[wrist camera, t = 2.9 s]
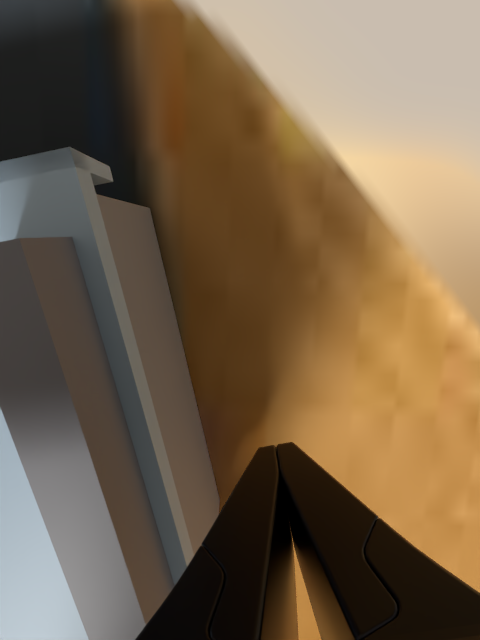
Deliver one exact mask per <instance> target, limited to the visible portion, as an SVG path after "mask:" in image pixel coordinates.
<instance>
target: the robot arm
mask: <svg viewBox="0 0 480 640" xmlns="http://www.w3.org/2000/svg"><path fill="white" fill-rule="evenodd" d="M276 449H277V450H276ZM289 522H290V523H289ZM290 528H291V529H290ZM291 533H292V534H291ZM292 538H293V541H292ZM293 543H294V547H295V551H296V555H297V559H298V562H299V565H300V569H301V572H302V575H303V579H304V582H305V585H306V589H307V592H308V595H309V599H310V602H311V606H312V609H313V612H314V616H315V619H316V622H317V626H318V629H319V632H320V636H321V639H322V640H480V593H479V592H478V591H476V590H475V589H473V588H472V587H470V586H469V585H468V584H466V583H465V582H463V581H462V580H460V579H459V578H457V577H456V576H455V575H453V574H452V573H450V572H449V571H447V570H446V569H445V568H443V567H442V566H440V565H439V564H438V563H436V562H435V561H433V560H432V559H431V558H429V557H428V556H427V555H425V554H424V553H423V552H421V551H420V550H418V549H417V548H416V547H414V546H413V545H412V544H411V543H410V542H408V541H407V540H406V539H405V538H403V537H402V536H401V535H400V534H398V533H397V532H396V531H395V530H394V529H392V528H391V527H390V526H389V525H388V524H387V523H386V522H384V521H383V520H382V519H381V518H379V517H378V516H377V515H376V514H375V513H374V512H373V511H371V510H370V509H369V508H368V507H367V506H366V505H365V504H363V503H362V502H361V501H360V500H359V499H358V498H357V497H355V496H354V495H353V494H352V493H351V492H350V491H348V490H347V489H346V488H345V487H344V486H343V485H342V484H340V483H339V482H338V481H337V480H336V479H335V478H333V477H332V476H331V475H330V474H329V473H328V472H327V471H325V470H324V469H323V468H322V467H321V466H320V465H318V464H317V463H316V462H315V461H314V460H313V459H312V458H310V457H309V456H308V455H307V454H306V453H305V452H303V451H302V450H301V449H300V448H299V447H298V446H297V445H295V444H294V443H292V442H289V443H283V444H278V445H277V447H275V446H274V445H271V446H265V447H260V448H259V449H258V450H257V452H256V453H255V455H254V457H253V458H252V460H251V462H250V463H249V465H248V467H247V468H246V470H245V472H244V473H243V475H242V477H241V478H240V480H239V482H238V483H237V485H236V487H235V488H234V490H233V492H232V493H231V495H230V497H229V498H228V500H227V502H226V503H225V505H224V507H223V508H222V510H221V512H220V513H219V515H218V517H217V518H216V520H215V522H214V523H213V525H212V527H211V528H210V530H209V532H208V533H207V535H206V537H205V538H204V540H203V542H202V544H201V546H200V547H199V548H198V550H197V552H196V553H195V555H194V557H193V558H192V560H191V561H190V563H189V565H188V566H187V568H186V569H185V571H184V572H183V574H182V575H181V577H180V579H179V580H178V582H177V583H176V585H175V586H174V587H173V589H172V590H171V592H170V593H169V594H168V596H167V597H166V599H165V600H164V601H163V603H162V604H161V606H160V607H159V608H158V610H157V611H156V612H155V614H154V615H153V616H152V618H151V619H150V620H149V622H148V623H147V624H146V626H145V627H144V628H143V630H142V631H141V632H140V634H139V635H138V636H137V638H136V639H135V640H298V623H297V604H296V585H295V565H294V550H293Z"/></svg>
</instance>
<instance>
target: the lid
mask: <svg viewBox="0 0 480 640" xmlns="http://www.w3.org/2000/svg"><path fill="white" fill-rule="evenodd" d="M109 182H113V178H112V174H111V170H110V167H109V166H107V165H105V164H103V163H101V162H99V161H97V160H95V159H93V158H91V157H89V156H87V155H85V154H83V153H81V152H79V151H77V150H75V149H73V148H71V147H66V148H62V149H57V150H52V151H48V152H43V153H38V154H34V155H29V156H24V157H20V158H15V159H10V160H6V161H1V162H0V640H135V639H136V638H137V636H138V635H139V634H140V632H141V631H142V630H143V628H144V627H145V626H146V624H147V623H148V622H149V620H150V619H151V618H152V616H153V615H154V614H155V612H156V611H157V610H158V608H159V607H160V606H161V604H162V603H163V601H164V600H165V599H166V597H167V596H168V594H169V593H170V592H171V590H172V589H173V587H174V586H175V585H176V583H177V582H178V580H179V579H180V577H181V575H182V574H183V572H184V571H185V569H186V568H187V566H188V565H189V563H190V561H191V560H192V558H193V557H194V553H193V549H192V546H191V542H190V538H189V535H188V531H187V527H186V524H185V520H184V516H183V513H182V509H181V505H180V501H179V498H178V494H177V490H176V487H175V483H174V479H173V476H172V472H171V468H170V465H169V461H168V457H167V454H166V450H165V446H164V443H163V439H162V435H161V431H160V428H159V424H158V420H157V417H156V413H155V409H154V406H153V402H152V398H151V395H150V391H149V387H148V384H147V380H146V376H145V372H144V369H143V365H142V361H141V358H140V354H139V350H138V347H137V343H136V339H135V336H134V332H133V328H132V325H131V321H130V317H129V314H128V310H127V306H126V302H125V299H124V295H123V291H122V288H121V284H120V280H119V277H118V273H117V269H116V266H115V262H114V258H113V255H112V251H111V247H110V244H109V240H108V236H107V232H106V229H105V225H104V221H103V218H102V214H101V210H100V207H99V203H98V199H97V196H96V192H95V188H94V186H95V185H99V184H104V183H109Z"/></svg>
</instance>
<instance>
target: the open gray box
mask: <svg viewBox="0 0 480 640" xmlns="http://www.w3.org/2000/svg"><path fill="white" fill-rule="evenodd" d="M96 196H97V199H98V203H99V207H100V210H101V214H102V218H103V221H104V225H105V229H106V232H107V236H108V240H109V244H110V247H111V251H112V255H113V258H114V262H115V266H116V269H117V273H118V277H119V280H120V284H121V288H122V291H123V295H124V299H125V302H126V306H127V310H128V314H129V317H130V321H131V325H132V328H133V332H134V336H135V339H136V343H137V347H138V350H139V354H140V358H141V361H142V365H143V369H144V372H145V376H146V380H147V384H148V387H149V391H150V395H151V398H152V402H153V406H154V409H155V413H156V417H157V420H158V424H159V428H160V431H161V435H162V439H163V443H164V446H165V450H166V454H167V457H168V461H169V465H170V468H171V472H172V476H173V479H174V483H175V487H176V490H177V494H178V498H179V501H180V505H181V509H182V513H183V516H184V520H185V524H186V527H187V531H188V535H189V538H190V542H191V546H192V549H193V553H194V555H195V553H196V552H197V550H198V548H199V547H200V546H201V544H202V542H203V540H204V538H205V537H206V535H207V533H208V532H209V530H210V528H211V527H212V525H213V523H214V522H215V520H216V518H217V517H218V515H219V504H220V498H219V494H218V490H217V486H216V482H215V478H214V474H213V469H212V465H211V461H210V457H209V453H208V449H207V444H206V440H205V436H204V432H203V428H202V424H201V419H200V415H199V411H198V407H197V403H196V399H195V394H194V390H193V386H192V382H191V378H190V374H189V370H188V365H187V361H186V357H185V353H184V349H183V345H182V340H181V336H180V332H179V328H178V324H177V320H176V315H175V311H174V307H173V303H172V299H171V295H170V291H169V286H168V282H167V278H166V274H165V270H164V266H163V261H162V257H161V253H160V249H159V245H158V241H157V236H156V232H155V228H154V224H153V220H152V216H151V211H150V208H148V207H144V206H140V205H136V204H132V203H129V202H125V201H121V200H117V199H113V198H109V197H105V196H102V195H98V194H96Z"/></svg>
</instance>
